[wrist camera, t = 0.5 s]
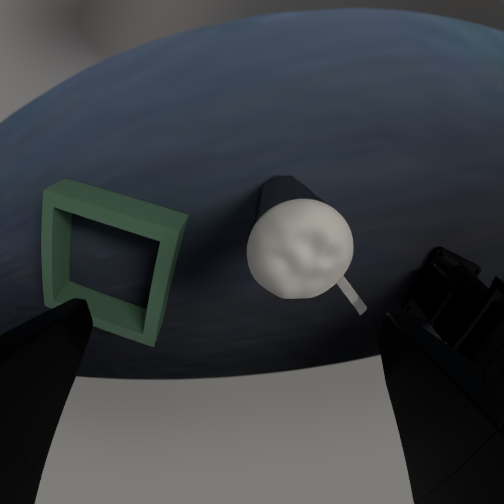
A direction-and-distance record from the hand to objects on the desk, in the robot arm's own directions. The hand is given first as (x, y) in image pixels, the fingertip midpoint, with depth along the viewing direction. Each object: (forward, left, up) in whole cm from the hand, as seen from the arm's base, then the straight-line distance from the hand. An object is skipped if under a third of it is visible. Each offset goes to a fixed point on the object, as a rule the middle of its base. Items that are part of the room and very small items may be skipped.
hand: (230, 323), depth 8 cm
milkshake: (-3, -1, -13) cm, 13 cm away
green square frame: (+8, +7, -13) cm, 17 cm away
